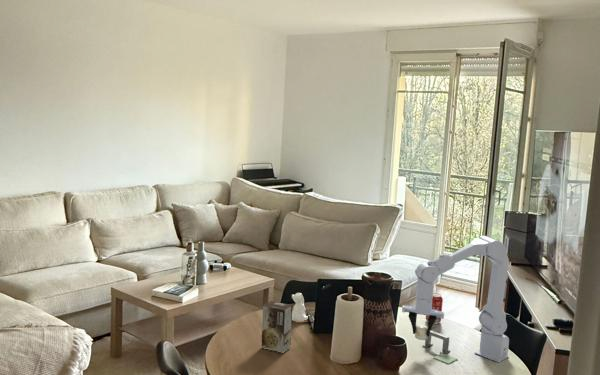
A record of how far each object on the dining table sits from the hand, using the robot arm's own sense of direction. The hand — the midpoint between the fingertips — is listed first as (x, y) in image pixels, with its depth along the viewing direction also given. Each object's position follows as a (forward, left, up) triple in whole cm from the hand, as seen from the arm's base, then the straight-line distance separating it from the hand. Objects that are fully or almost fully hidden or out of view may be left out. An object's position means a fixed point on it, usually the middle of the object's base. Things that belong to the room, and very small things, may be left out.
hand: (421, 334), depth 197 cm
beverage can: (+17, -35, -9) cm, 40 cm away
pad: (-7, -6, -8) cm, 12 cm away
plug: (+1, -3, -2) cm, 4 cm away
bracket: (0, -11, -8) cm, 14 cm away
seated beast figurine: (+51, +11, -9) cm, 53 cm away
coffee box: (+36, +37, -9) cm, 52 cm away
